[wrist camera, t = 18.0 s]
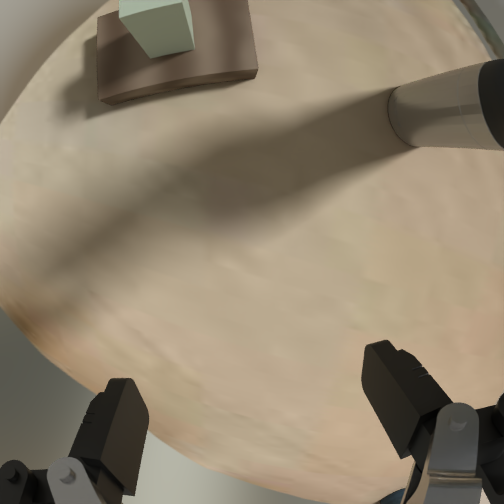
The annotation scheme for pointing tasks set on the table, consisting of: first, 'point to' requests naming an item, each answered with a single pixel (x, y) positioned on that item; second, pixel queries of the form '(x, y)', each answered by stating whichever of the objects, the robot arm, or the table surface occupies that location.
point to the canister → (393, 497)
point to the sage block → (159, 25)
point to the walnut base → (177, 54)
